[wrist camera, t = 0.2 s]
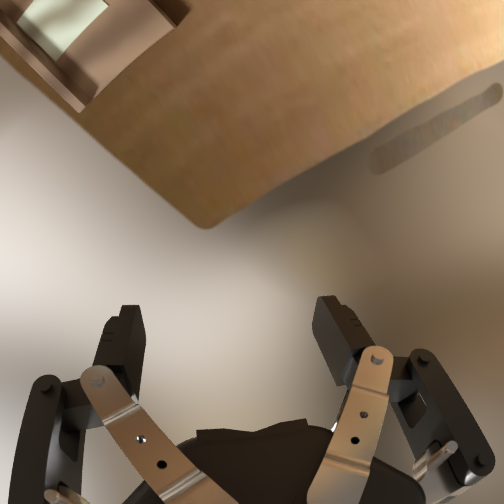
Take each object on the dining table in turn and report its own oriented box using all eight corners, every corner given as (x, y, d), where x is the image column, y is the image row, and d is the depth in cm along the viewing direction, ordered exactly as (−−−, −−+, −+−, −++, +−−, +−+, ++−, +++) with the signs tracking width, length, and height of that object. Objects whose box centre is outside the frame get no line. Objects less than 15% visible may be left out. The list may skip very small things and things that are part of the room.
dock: (-3, 3, 15) (-26, 8, 12) (69, -77, 11) (49, -84, 7) (94, 99, 31) (79, 113, 27) (177, 26, 26) (170, 29, 23)
